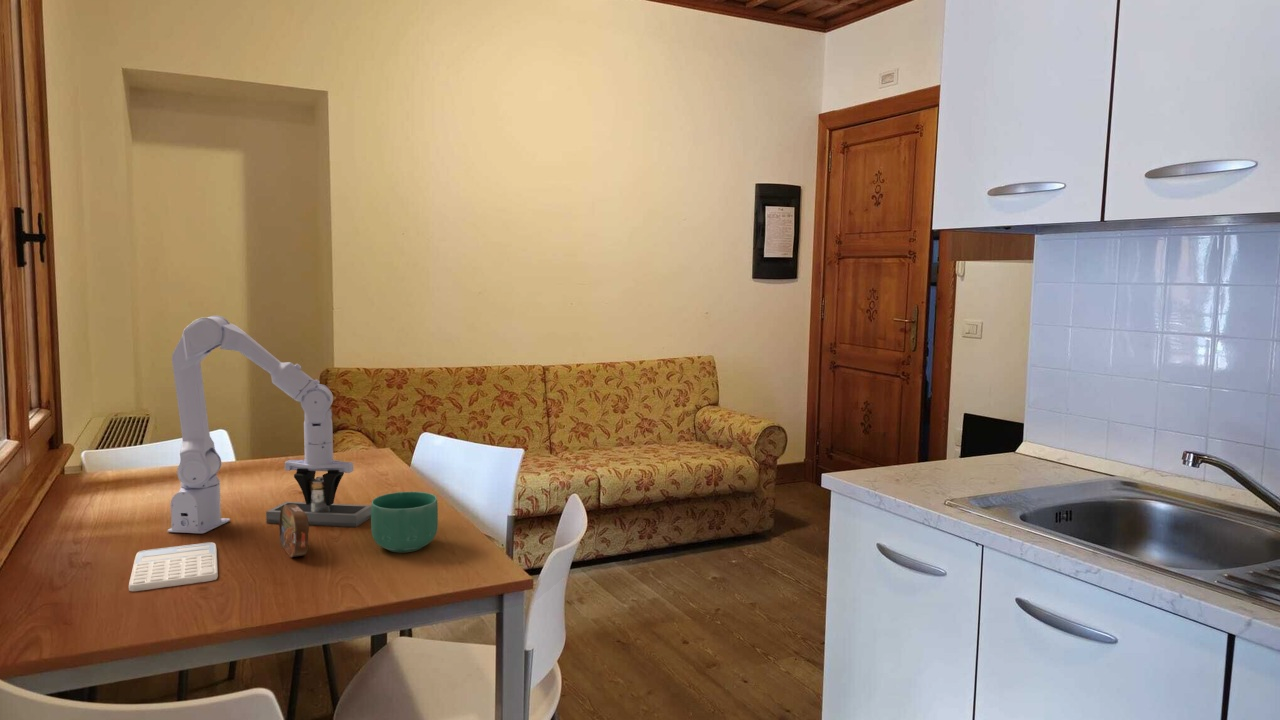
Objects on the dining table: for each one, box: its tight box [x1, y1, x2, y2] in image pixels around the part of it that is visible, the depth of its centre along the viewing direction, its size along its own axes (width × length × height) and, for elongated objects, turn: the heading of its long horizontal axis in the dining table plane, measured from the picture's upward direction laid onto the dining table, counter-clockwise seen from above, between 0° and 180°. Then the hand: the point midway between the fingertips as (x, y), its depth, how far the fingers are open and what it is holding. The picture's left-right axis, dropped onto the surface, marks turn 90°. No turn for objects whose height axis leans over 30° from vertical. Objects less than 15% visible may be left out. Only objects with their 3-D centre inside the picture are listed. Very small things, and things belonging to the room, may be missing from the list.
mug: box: [370, 491, 439, 553], centre depth 164 cm, size 17×13×10 cm
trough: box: [265, 501, 371, 528], centre depth 180 cm, size 8×20×2 cm, turn 84°
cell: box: [310, 475, 330, 513], centre depth 180 cm, size 4×4×8 cm
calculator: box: [128, 542, 219, 592], centre depth 149 cm, size 13×20×2 cm, turn 28°
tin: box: [278, 504, 310, 559], centre depth 159 cm, size 15×3×8 cm, turn 34°
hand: (319, 503), depth 180 cm, fingers closed on cell, 4 cm apart
